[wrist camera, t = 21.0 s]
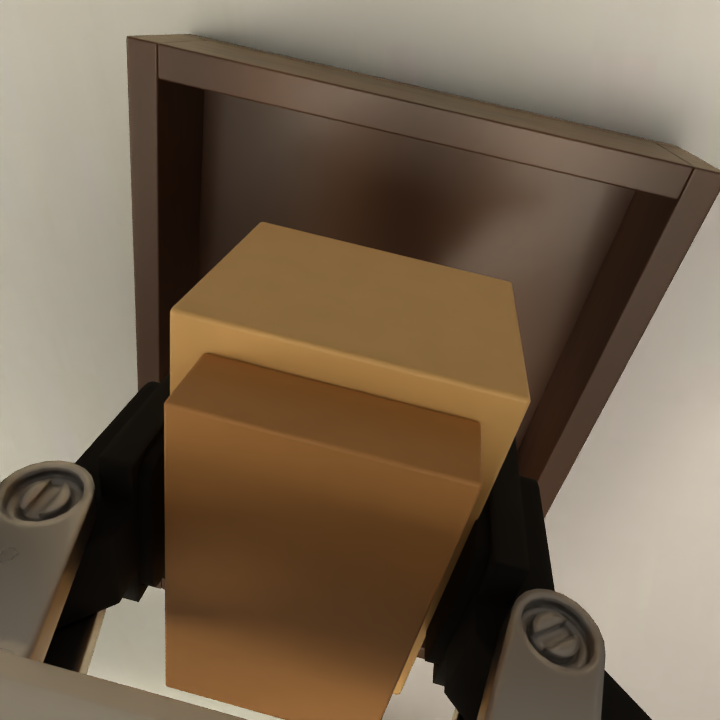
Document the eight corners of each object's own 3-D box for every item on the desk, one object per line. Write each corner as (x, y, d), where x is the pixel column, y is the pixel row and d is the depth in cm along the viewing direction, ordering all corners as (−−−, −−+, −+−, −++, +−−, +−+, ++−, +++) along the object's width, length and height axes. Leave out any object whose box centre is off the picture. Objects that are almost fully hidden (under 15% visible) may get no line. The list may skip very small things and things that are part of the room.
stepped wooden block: (234, 497, 14) (137, 693, 10) (260, 219, 10) (118, 355, 6) (415, 545, 14) (392, 765, 10) (513, 281, 10) (544, 464, 6)
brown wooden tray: (178, 523, 28) (144, 584, 25) (188, 33, 16) (125, 35, 13) (463, 598, 27) (463, 670, 24) (678, 145, 16) (729, 174, 13)
